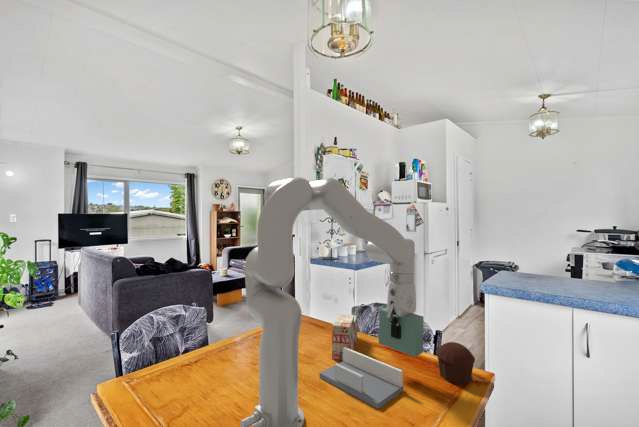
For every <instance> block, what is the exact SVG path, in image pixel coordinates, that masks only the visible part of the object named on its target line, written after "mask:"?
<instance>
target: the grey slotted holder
mask: <svg viewBox="0 0 639 427" xmlns="http://www.w3.org/2000/svg"><path fill="white" fill-rule="evenodd" d="M403 372H404V371H403V369H400V368H397V367H396V366H393V365H390V364H388V363H385V362H382V361H381V360H378V359H375V358H373V357H370V356H367V355H365V354H364V353H361V352H358V351H356V350H354V349H353V350H351V349H349V348H346V347H344V348H343V360H342V361H341V362H338V363H335V364H334V365H332V366H331V367H328V368H326V369H324V370H323V371H320V372H318V373H319V374H318V375H319V378H320V379H321V380H323V381H325V382H327V383H328V384H331V385H333V386H334V387H336V388H338V389H340V390H342V391H344V392H345V393H347V394H349V395H351V396H353V397H355V398H356V399H358V400H360V401H362V402H364V403H366V404H367V405H369V406H371V407H373V408H375V409H377V410H379V409H381V408H382V407H383V406H385V405H386V404H388V403H389V402H390V401H392V400H393V399H394V398H395V397H397V396H398V395H400V394H401V393H402V392H404V389H405V388H404V385H403V381H404V380H403V376H404V375H403Z"/></svg>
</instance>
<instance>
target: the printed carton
mask: <svg viewBox="0 0 639 427" xmlns="http://www.w3.org/2000/svg"><path fill="white" fill-rule="evenodd" d="M357 320H358V316H357V315H355V314H338V315H337V316H336V318H335V320H334V322H333V323H332V326H331V327H332V330H331V331H332V332H331V333H332V335H331V336H332V338H331V344H332V345H331V346H332V348H331V359H332V360H336V361H337V360H338V361H343V348H344V347H346V348H349V349H351V350H353V351H354V348H355V344H356V342H357V340H356V339H358V321H357Z"/></svg>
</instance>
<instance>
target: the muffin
mask: <svg viewBox="0 0 639 427" xmlns="http://www.w3.org/2000/svg"><path fill="white" fill-rule="evenodd" d="M435 355H436V357H437V361H438V367H439V375H440V377H441V378H442V379H444V381H446V382H449V383H453V385H454V384H455V385H456V384H457V385H466V384H468V383H470V382H471V380H472V375H473V368H474V364H475V360H476V357H475V356H474V355H473V354H472V352H471V351H470V350H469V348H467V347H466V346H465V345H464V344H462V343H458V342H455V341H450V342H449V341H448V342H446V343H443V344H441V345H440V346H439V347H438V349H436V351H435Z"/></svg>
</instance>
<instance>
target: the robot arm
mask: <svg viewBox="0 0 639 427" xmlns="http://www.w3.org/2000/svg"><path fill="white" fill-rule="evenodd" d="M263 195H264V196H263V197H264V198H263V199H264V201H265V202H264V204H263V207H262V209H261V210H260V213H259V217H258V219H257V231H256V232H257V234H256V235H257V240H256V241H257V246H256V247H254V248H253V249H252V250H251V251H249V253H248V255H247V256H246V259H245V264H244V279H245V280H244V283H245V295H246V306H247V310H248V312H249V314H250V316H251V317H252V318H253V319H254V320H255V321H256V322H257V323H259V325H261V328H262V330H261V335H260V340H259V346H258V405H256V406H254V412H252V413H251V415H250V416H247V417H245V418H243V419H241V420H240V422H239V424H240V427H303V426H304V424H305V413H304V411H303V409H302V408H300V407H299V338H300V331H301V325H302V319H303V317H302V315H303V312H302V308H301V305H300V303H299V302H298V300H297V299H296V298H295V297H294V296H292V295H291V294H290V293H287V292H286V291H283V290H282V289H280V288H285V287H287V286H288V285H289V284H290V283H291V282H292V280H293V278H294V275H295V261H294V260H295V258H294V241H293V232H294V225H295V222H296V220H297V218H298V216H299V215H300V214H301V213H302V212H303V211H312V210H313V211H314V210H316V211H317V210H323V211H324V212H325V213H326V214H328V216H330V218H331V219H333V220H334V222H336V223H337V225H339V226H340V227H341V229H342V230H343V231H345V232H346V233H348V234H349V235H351V236H353V237H355V238H358V239H360V240H364V241H367V243H366V246H365V254H366V256H367V257H368V258H369V259H370V260H372V261H373V262H377V263H383V264H387V265H389V284H388V291H387V304H386V305H387V306H386V307H387V311H388V313H387V316H386V317H387V318H388V319H389V321H390V324H391V337H393V338H396V339H401V326H400V320H401V317H404V316H407V315H409V314H415V312H416V311H417V298H416V297H417V295H416V284H415V253H416V252H415V250H416V246H415V244H416V243H415V241H414V240H413V239H412V238H405V237H404V236H403V235H402V234H401V232H399V230H397V229H396V228H395V227H394V226H393V225H391V224H389V223H388V222H386V220H384V219H382V218H380V217H378V216H377V215H376V214H375V215H374V213H371V212H370V211H369V210H367V209H366V208H365V207H364V205H362V204H361V202H360V201H358V199H357V198H356V197H355V196H354V195H353V194H352V193H351V192H350V191H349V190H348V189H347V187H345V186H344V184H343V183H342V182H340V181H339V180H338V179H335V178H331V177H330V178H322V179H316V180H307V179H306V178H303V177H297V176H296V177H289V178H288V177H287V178H284V179H281V180H280V179H279V180H276V181H273V182H271V183H270V184H269V185H267V187H266V188H265V190H264V194H263ZM394 313H396V314H394ZM394 317H397V320H396V319H395V318H394Z"/></svg>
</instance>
